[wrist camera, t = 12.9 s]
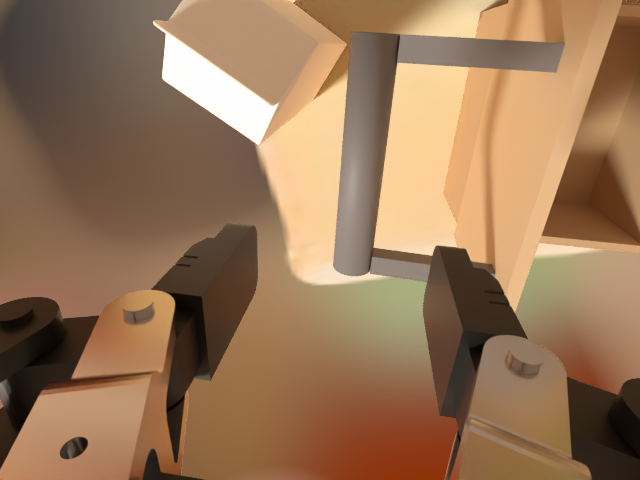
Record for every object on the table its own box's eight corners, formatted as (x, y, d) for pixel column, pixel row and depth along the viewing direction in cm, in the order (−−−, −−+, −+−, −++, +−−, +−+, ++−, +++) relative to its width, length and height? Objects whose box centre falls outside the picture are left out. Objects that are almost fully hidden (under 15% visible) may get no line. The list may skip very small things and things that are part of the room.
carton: (480, 12, 33) (518, -1, 24) (660, 20, 31) (771, 10, 22) (443, 192, 40) (461, 234, 31) (587, 206, 38) (650, 254, 30)
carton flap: (519, -1, 24) (377, -6, 25) (640, -53, 11) (348, -58, 13) (462, 235, 31) (354, 221, 32) (498, 359, 19) (322, 329, 20)
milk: (292, 2, 34) (176, -63, 15) (348, 44, 35) (311, 38, 15) (259, 65, 37) (123, 82, 17) (312, 103, 38) (240, 161, 18)
